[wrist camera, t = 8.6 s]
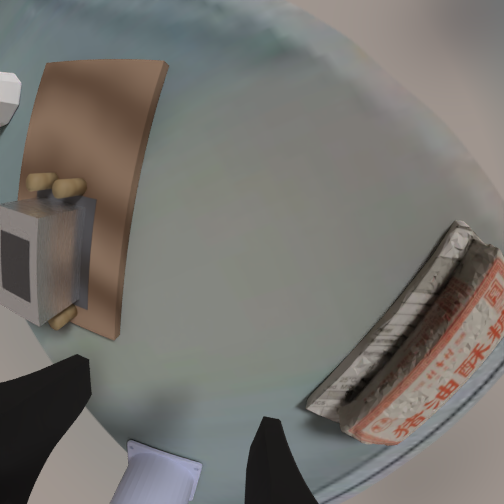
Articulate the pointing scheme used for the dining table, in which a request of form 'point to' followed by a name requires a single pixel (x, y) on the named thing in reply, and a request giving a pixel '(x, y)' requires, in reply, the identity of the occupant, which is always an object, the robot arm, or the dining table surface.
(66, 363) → the robot arm
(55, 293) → the block
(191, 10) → the dining table surface
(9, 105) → the salt shaker
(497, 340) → the packaged product
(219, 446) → the dining table surface
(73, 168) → the walnut tray
